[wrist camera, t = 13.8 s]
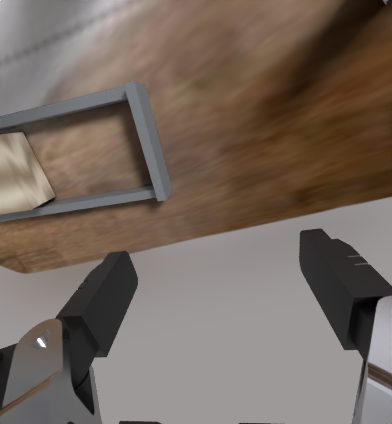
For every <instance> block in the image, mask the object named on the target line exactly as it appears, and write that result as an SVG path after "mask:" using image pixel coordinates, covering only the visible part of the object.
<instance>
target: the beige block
mask: <svg viewBox="0 0 392 424" xmlns="http://www.w3.org/2000/svg"><path fill="white" fill-rule="evenodd" d="M54 197H56V196H55V194H54V192H53V190H52V188H51V186H50V184H49V182H48V180H47V178H46V176H45V175H44V173H43V171H42V169H41V167H40V165H39V163H38V161H37V159H36V157H35V155H34V153H33V151H32V149H31V147H30V145H29V143H28V141H27V139H26V137H25V135H24V133H23V132H17V133H8V134H0V215H1V214H7V213H13V212H19V211H26V210H32V209H33V208H35V207H37V206H39V205H41V204H43V203H45V202H46V201H48V200H50V199H52V198H54Z"/></svg>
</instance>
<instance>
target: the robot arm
mask: <svg viewBox="0 0 392 424" xmlns="http://www.w3.org/2000/svg"><path fill="white" fill-rule="evenodd" d="M299 255H300V256H299V261H300V267H301V271H302V273H303V275H304V277H305V278H306V281H307V282H308V284H309V286H310V288H311V290H312V292H313V294H314V295H315V297H316V299H317V301H318V302H319V304H320V306H321V308H322V310H323V312H324V314H325V315H326V317H327V319H328V321H329V323H330V325H331V327H332V328H333V330H334V332H335V334H336V335H337V337H338V339H339V341H340V343H341V345H342V347H343V348H344V350H358V351H359V353H360V355H361V356H362V358H363V363H362V368H361V374H360V379H359V385H358V390H357V396H356V402H355V408H354V413H353V419H352V424H392V286H391V285H390V284H389V283H388V282H387V281H386V280H385V279H384V278H383V277H382V276H381V275H380V274H379V273H378V272H377V271H376V270H375V269H374V268H373V267H372V266H371V265H368V262H367V261H366V260H365V259H364V258H363V257H360V254H359V253H358V252H357V251H356V250H354V249H353V247H351V246H350V245H348V244H346V243H345V242H343V241H341V240H339V239H331V238H330V237H329V236H328V235H327V234H326V233H325V232H324V231H323V230H322V229H312V230H304V231H301V232H300V253H299ZM137 285H138V277H137V274H136V271H135V269H134V266H133V264H132V261H131V259H130V256H129V254H128V252H126V251H120V252H111V253H109V254H108V255H107V256H106V258H105V259H104V260H103V262H102V263H101V264H100V265H98V266H97V267H96V268H95V269H93V270H92V271H91V272H90V273H89V275H88V276H87V277H86V279H85V280H84V282H83V283H82V284H81V285H80V286H79V288H78V290H76V292H75V293H74V294H73V296H72V297H71V298H70V300H69V301H68V302H67V303H66V305H65V306H64V307H63V309H62V310H61V311H60V312H59V314H58V315H57V316H56V318H55V319H49V320H46V321H44V322H42V323H40V324H38V325H36V326H35V327H33V328H32V329H31V330H29V331H28V332H27V333H26V334H25V335H24V336H23V337H22V338H21V340H20V341H19V342H18V343H17V344H14V345H11V346H8V347H5V348H2V349H0V424H102V421H101V416H100V410H99V403H98V396H97V390H96V384H95V376H94V371H93V367H92V366H91V364H92V361H93V359H94V358H95V357H107V355H108V353H109V351H110V348H111V346H112V344H113V341H114V339H115V337H116V335H117V332H118V330H119V327H120V325H121V323H122V321H123V318H124V316H125V314H126V312H127V309H128V307H129V305H130V302H131V300H132V298H133V295H134V293H135V291H136V289H137ZM119 424H161V423H158V422H141V421H120V422H119ZM239 424H265V423H239ZM266 424H267V423H266Z"/></svg>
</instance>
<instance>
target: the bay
mask: <svg viewBox="0 0 392 424" xmlns="http://www.w3.org/2000/svg"><path fill="white" fill-rule="evenodd" d="M123 84H124V86H122V87H118V88H114V89H110V90H106V91H102V92H98V93H94V94H90V95H85V96H81V97H77V98H73V99H69V100H65V101H61V102H57V103H53V104H49V105H45V106H41V107H37V108H33V109H29V110H24V111H20V112H16V113H12V114H8V115H4V116H0V130H5V129H9V128H13V127H17V126H22V125H26V124H30V123H34V122H39V121H43V120H47V119H52V118H56V117H60V116H64V115H69V114H73V113H77V112H82V111H86V110H90V109H94V108H99V107H103V106H107V105H112V104H116V103H120V102H124V101H129V104H130V108H131V111H132V115H133V118H134V122H135V125H136V128H137V132H138V135H139V139H140V142H141V146H142V149H143V153H144V156H145V159H146V163H147V166H148V170H149V173H150V177H151V180H152V183H153V185H149V186H143V187H137V188H131V189H125V190H119V191H113V192H107V193H101V194H95V195H89V196H83V197H77V198H71V199H64V200H58V201H52V202H46V203H43V204H41V205H39V206H37V207H35V208H33V209H32V210H26V211H19V212H13V213H7V214H1V215H0V222H2V221H9V220H15V219H22V218H28V217H34V216H41V215H47V214H54V213H60V212H67V211H73V210H80V209H86V208H93V207H99V206H106V205H112V204H118V203H125V202H131V201H138V200H144V199H151V198H157V201H164V200H167V198H168V196H169V194H170V193H171V191H172V188H171V184H170V180H169V176H168V172H167V168H166V164H165V160H164V156H163V152H162V148H161V144H160V140H159V137H158V133H157V129H156V125H155V121H154V117H153V113H152V109H151V105H150V101H149V97H148V93H147V89H146V85H145V84H142V83H139V82H137V81H130V82H126V83H123Z"/></svg>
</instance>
